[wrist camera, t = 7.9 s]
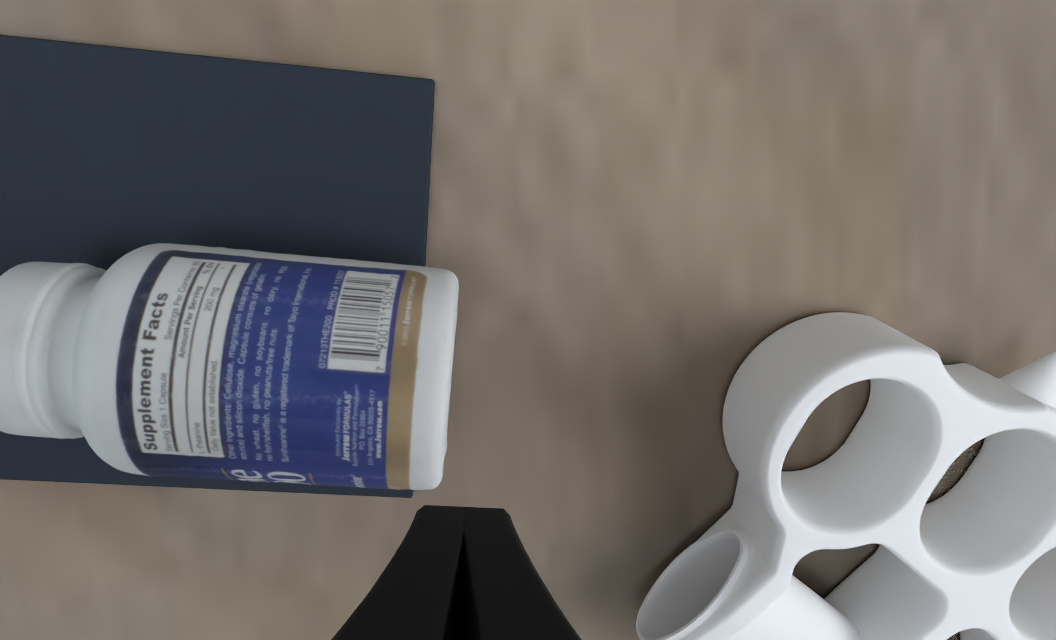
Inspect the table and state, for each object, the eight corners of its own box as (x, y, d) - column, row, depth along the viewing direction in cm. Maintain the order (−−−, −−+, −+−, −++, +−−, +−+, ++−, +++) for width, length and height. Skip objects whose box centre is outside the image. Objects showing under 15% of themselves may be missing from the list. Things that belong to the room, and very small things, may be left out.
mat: (413, 489, 21) (412, 498, 20) (-303, 456, 19) (-323, 465, 19) (434, 80, 17) (433, 79, 17) (-444, -10, 15) (-474, -15, 15)
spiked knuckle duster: (555, 546, 22) (897, 199, 19) (899, 789, 26) (1216, 536, 24) (568, 622, 19) (981, 218, 16) (957, 884, 23) (1332, 603, 20)
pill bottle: (448, 444, 20) (94, 420, 19) (463, 259, 19) (90, 225, 18) (438, 537, 14) (-57, 510, 13) (458, 285, 13) (-73, 239, 12)
